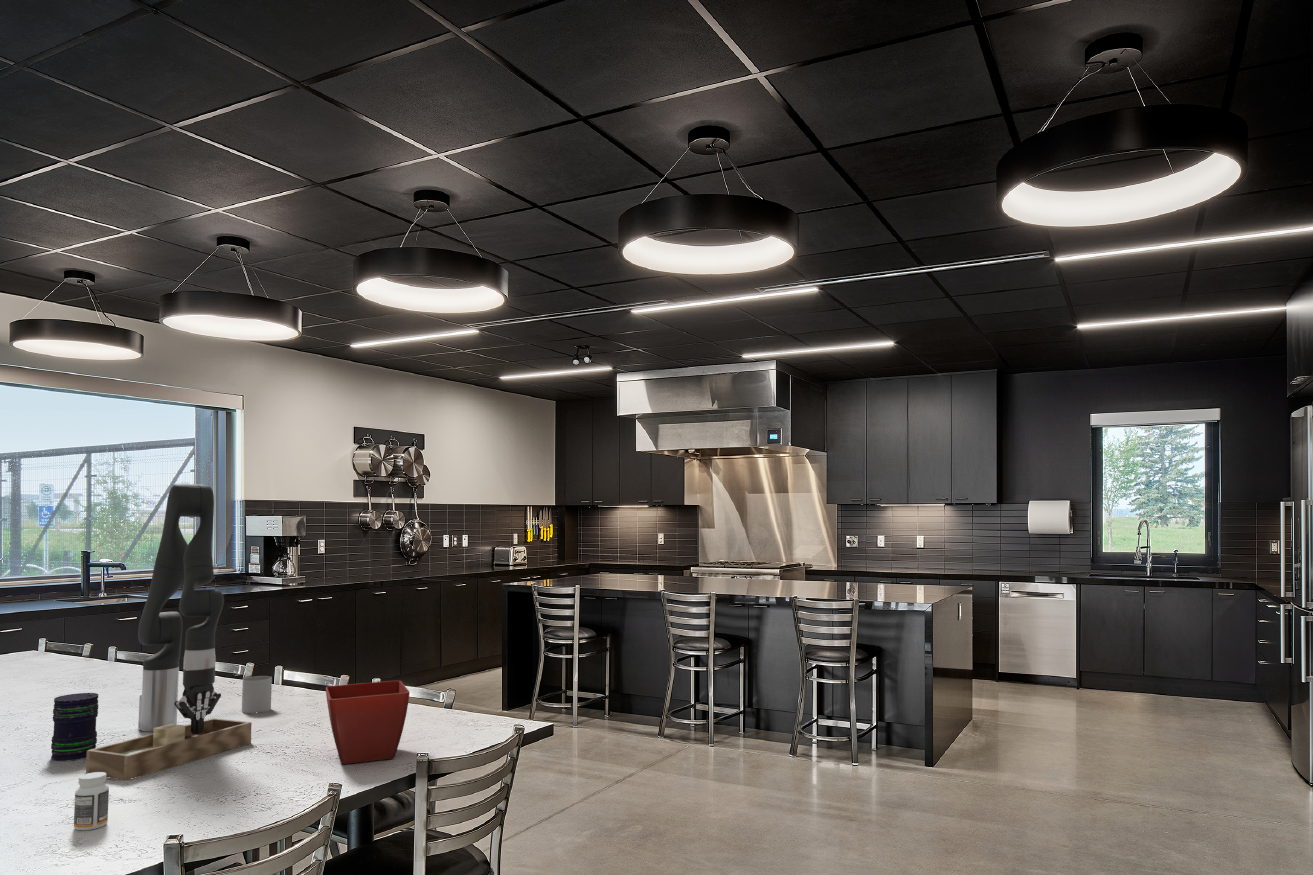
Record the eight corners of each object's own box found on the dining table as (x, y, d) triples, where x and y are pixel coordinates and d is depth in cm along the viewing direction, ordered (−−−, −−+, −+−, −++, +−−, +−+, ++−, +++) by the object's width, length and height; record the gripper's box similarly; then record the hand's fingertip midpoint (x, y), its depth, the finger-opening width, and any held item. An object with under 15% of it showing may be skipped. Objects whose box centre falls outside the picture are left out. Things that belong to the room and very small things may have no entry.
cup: (259, 713, 274) (260, 681, 275) (235, 712, 276) (237, 680, 277) (276, 708, 282) (277, 676, 283) (253, 707, 284) (254, 675, 285)
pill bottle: (99, 819, 179) (101, 769, 180) (112, 825, 176) (115, 773, 177) (68, 827, 174) (70, 776, 175) (81, 833, 171) (83, 780, 172)
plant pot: (323, 751, 230) (325, 685, 232) (399, 743, 238) (400, 679, 239) (327, 770, 213) (329, 699, 214) (409, 761, 220) (410, 692, 222)
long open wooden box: (212, 738, 244) (213, 718, 244) (250, 742, 239) (251, 722, 239) (85, 774, 211) (86, 750, 211) (126, 780, 206) (127, 756, 206)
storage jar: (47, 763, 221) (50, 702, 222) (53, 753, 229) (56, 695, 231) (94, 757, 225) (97, 698, 226) (98, 748, 234) (101, 691, 235)
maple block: (152, 748, 222) (153, 728, 223) (170, 743, 227) (171, 723, 227) (166, 750, 220) (167, 729, 221) (184, 745, 225) (185, 725, 225)
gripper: (210, 661, 240) (207, 726, 239) (166, 669, 228) (164, 738, 227) (230, 662, 238) (228, 728, 236) (187, 671, 225) (185, 740, 224)
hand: (196, 733), depth 231 cm, fingers closed
